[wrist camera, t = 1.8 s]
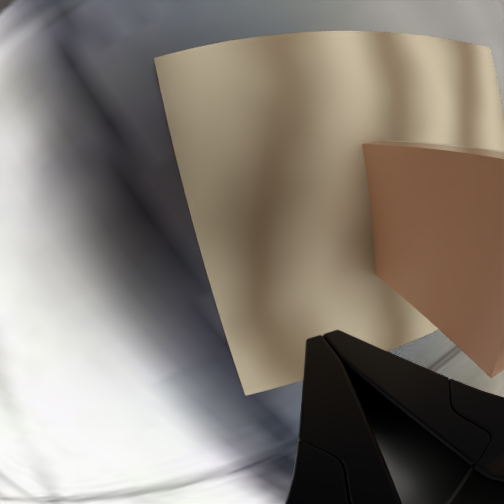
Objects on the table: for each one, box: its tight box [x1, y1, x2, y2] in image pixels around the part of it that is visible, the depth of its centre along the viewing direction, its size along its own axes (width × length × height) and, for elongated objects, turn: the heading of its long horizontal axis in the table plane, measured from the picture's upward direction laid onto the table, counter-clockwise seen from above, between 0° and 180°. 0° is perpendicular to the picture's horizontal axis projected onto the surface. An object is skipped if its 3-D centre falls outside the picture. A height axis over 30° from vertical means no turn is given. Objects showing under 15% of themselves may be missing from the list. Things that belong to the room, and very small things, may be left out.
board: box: [154, 31, 504, 396], centre depth 17 cm, size 22×20×1 cm
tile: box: [362, 140, 504, 378], centre depth 12 cm, size 2×8×10 cm, turn 12°
